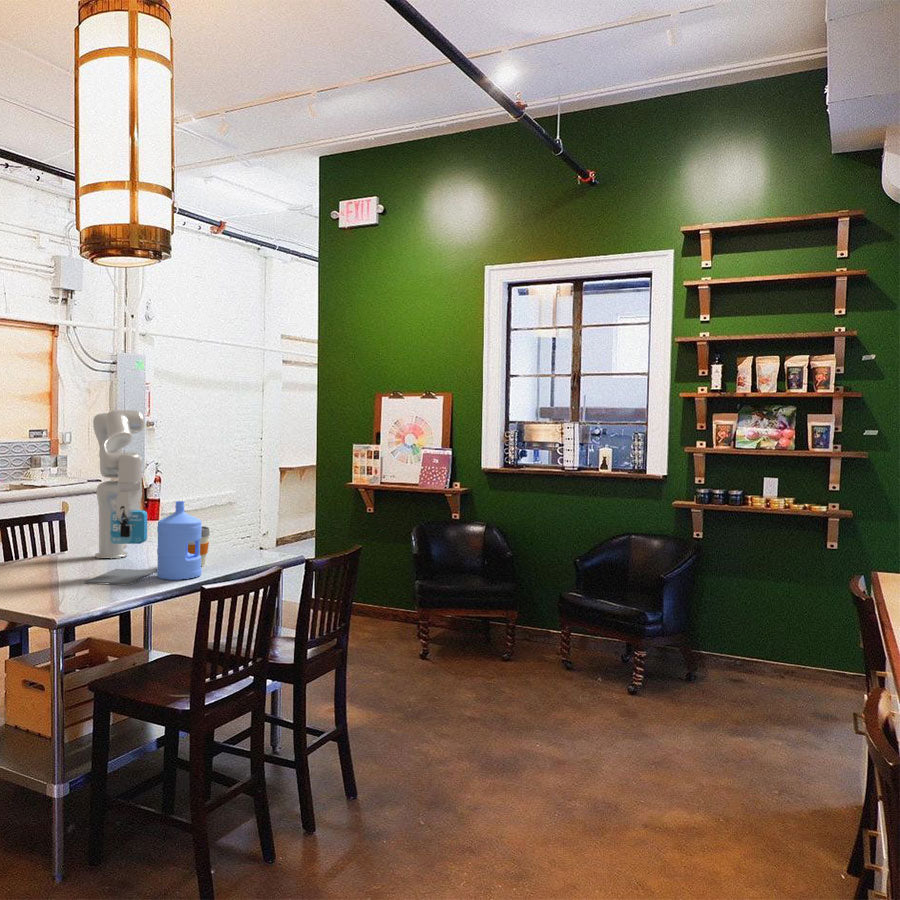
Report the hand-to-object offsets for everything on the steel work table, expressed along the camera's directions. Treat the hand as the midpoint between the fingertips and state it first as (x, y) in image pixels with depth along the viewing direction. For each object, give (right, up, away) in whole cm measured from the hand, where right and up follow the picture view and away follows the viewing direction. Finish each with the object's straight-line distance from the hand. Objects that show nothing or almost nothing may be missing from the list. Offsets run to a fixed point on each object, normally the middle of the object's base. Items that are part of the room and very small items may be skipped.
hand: (129, 535), depth 285 cm
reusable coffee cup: (+17, -15, +21) cm, 31 cm away
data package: (0, -3, 0) cm, 3 cm away
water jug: (+19, -16, 0) cm, 24 cm away
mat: (-1, -15, -4) cm, 16 cm away
